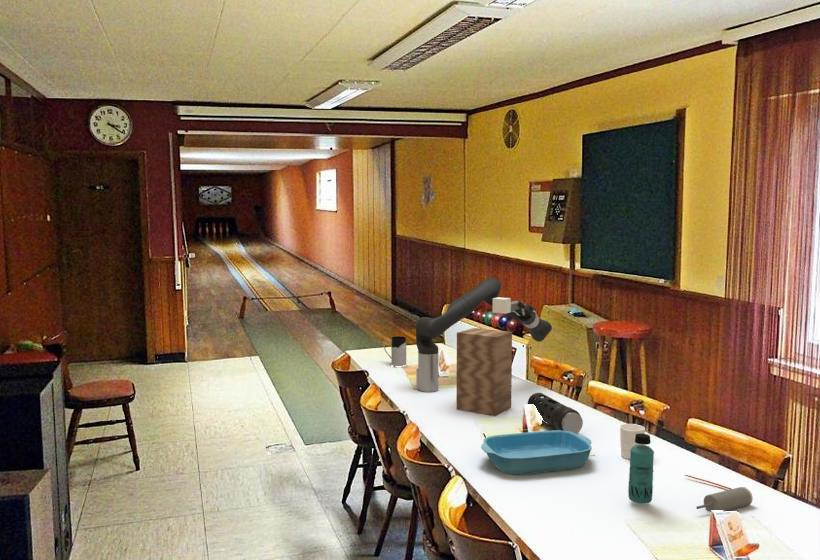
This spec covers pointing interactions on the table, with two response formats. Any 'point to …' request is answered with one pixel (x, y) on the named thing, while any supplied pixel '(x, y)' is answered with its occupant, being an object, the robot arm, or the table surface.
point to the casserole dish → (537, 451)
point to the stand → (484, 371)
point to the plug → (504, 305)
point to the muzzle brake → (557, 413)
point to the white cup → (629, 438)
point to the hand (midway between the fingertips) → (514, 302)
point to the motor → (725, 498)
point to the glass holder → (397, 350)
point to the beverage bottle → (641, 470)
